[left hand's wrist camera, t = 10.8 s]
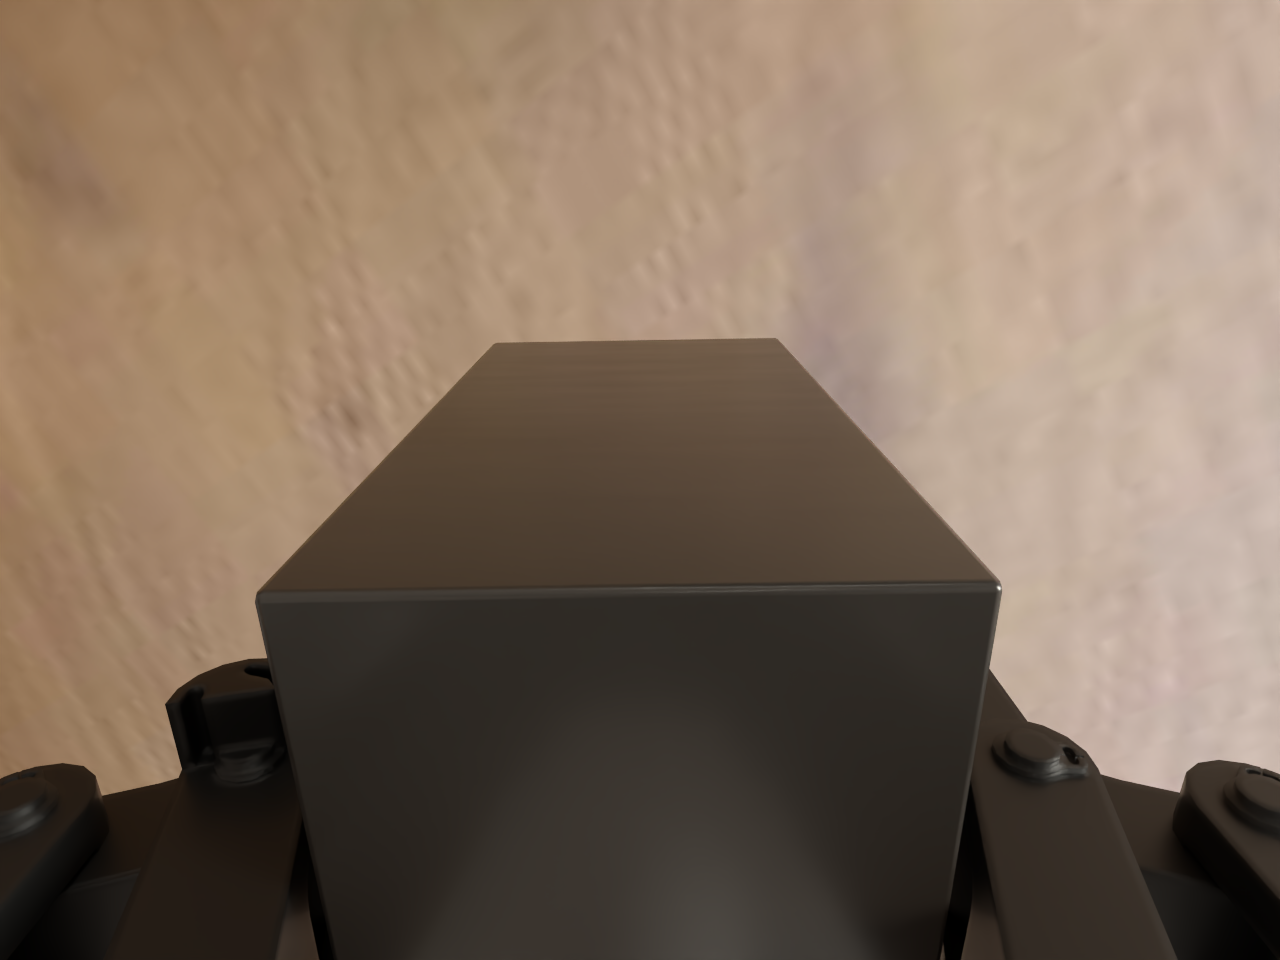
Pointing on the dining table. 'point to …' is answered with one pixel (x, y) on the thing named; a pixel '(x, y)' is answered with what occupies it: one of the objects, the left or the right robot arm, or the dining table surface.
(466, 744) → the beam
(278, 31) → the dining table surface
